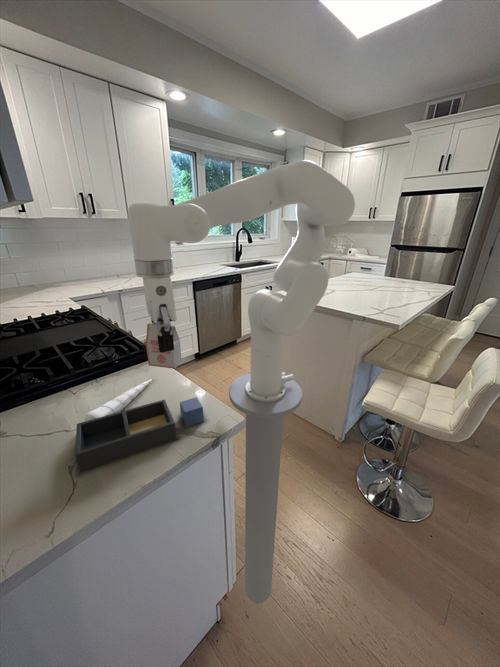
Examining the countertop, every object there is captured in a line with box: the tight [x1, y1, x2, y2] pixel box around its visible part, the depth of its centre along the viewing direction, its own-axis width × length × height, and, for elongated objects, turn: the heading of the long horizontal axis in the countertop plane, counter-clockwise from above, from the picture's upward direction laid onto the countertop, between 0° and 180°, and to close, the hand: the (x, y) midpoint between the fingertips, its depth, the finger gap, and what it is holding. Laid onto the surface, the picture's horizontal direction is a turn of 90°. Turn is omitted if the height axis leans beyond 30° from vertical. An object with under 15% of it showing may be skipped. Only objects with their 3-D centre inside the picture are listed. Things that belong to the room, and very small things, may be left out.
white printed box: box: [145, 323, 183, 370], centre depth 65 cm, size 4×7×10 cm, turn 78°
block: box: [179, 396, 204, 428], centre depth 70 cm, size 4×4×4 cm
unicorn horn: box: [84, 378, 153, 422], centre depth 75 cm, size 5×24×5 cm, turn 160°
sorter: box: [74, 399, 178, 473], centre depth 63 cm, size 19×10×5 cm, turn 119°
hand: (163, 343), depth 65 cm, fingers closed on white printed box, 7 cm apart
